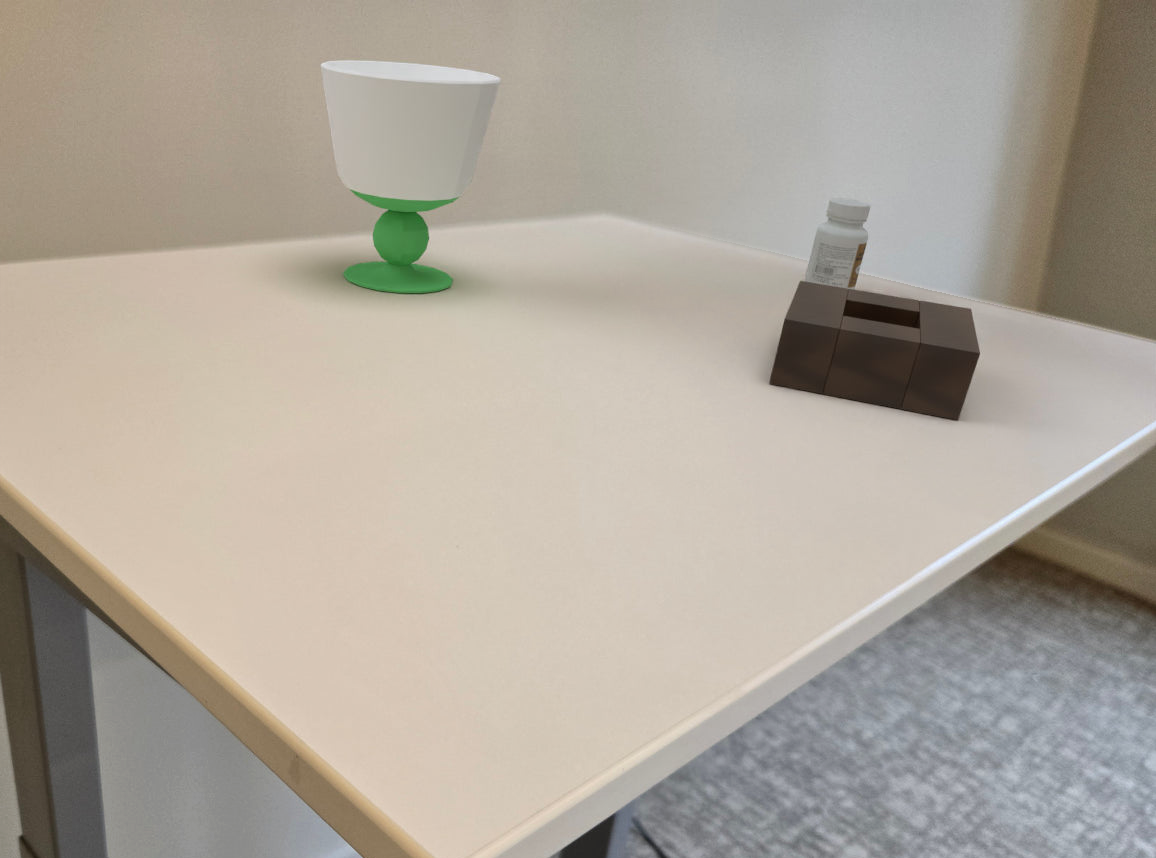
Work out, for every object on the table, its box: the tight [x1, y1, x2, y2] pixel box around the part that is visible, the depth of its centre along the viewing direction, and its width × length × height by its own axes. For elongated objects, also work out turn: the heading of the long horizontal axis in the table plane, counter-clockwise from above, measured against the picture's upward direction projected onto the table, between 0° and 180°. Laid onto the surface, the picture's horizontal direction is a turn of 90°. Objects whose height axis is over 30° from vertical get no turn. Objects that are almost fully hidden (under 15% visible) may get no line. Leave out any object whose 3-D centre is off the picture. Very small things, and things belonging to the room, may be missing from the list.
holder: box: [768, 280, 981, 421], centre depth 74 cm, size 12×12×4 cm
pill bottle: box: [804, 197, 871, 290], centre depth 96 cm, size 4×4×8 cm
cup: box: [319, 59, 502, 294], centre depth 85 cm, size 14×14×16 cm
